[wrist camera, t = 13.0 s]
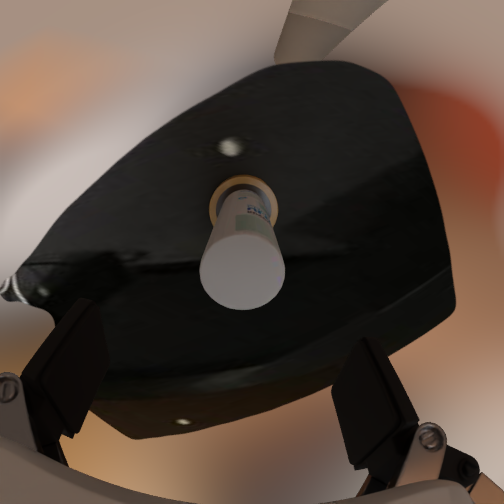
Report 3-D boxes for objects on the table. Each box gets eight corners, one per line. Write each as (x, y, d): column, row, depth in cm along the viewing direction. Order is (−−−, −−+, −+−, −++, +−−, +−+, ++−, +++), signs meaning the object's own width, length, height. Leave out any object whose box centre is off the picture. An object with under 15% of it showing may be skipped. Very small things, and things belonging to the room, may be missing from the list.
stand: (216, 169, 39) (214, 171, 37) (281, 180, 40) (284, 183, 37) (207, 232, 43) (205, 238, 40) (269, 242, 44) (270, 248, 41)
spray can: (211, 208, 39) (181, 270, 20) (246, 179, 37) (247, 215, 19) (241, 240, 41) (237, 323, 22) (275, 213, 39) (302, 279, 21)
